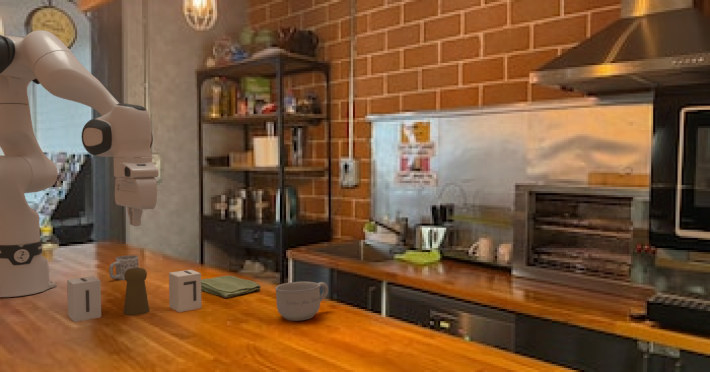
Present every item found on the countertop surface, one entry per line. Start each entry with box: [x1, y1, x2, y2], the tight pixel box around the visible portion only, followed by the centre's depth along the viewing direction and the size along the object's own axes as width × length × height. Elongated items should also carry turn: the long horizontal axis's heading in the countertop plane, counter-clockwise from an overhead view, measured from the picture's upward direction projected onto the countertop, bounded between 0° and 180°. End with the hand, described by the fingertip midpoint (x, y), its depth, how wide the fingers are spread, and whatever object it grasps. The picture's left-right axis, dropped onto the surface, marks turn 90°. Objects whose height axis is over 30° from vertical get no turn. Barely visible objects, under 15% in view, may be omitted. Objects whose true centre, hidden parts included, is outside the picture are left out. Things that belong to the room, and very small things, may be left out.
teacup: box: [274, 281, 329, 322], centre depth 132 cm, size 14×11×8 cm
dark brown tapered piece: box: [123, 267, 150, 316], centre depth 136 cm, size 6×6×11 cm
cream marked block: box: [168, 269, 202, 313], centre depth 140 cm, size 6×6×9 cm
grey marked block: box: [66, 275, 102, 323], centre depth 132 cm, size 6×6×9 cm
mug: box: [108, 254, 139, 281], centre depth 172 cm, size 10×7×7 cm, turn 154°
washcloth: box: [201, 274, 262, 299], centre depth 159 cm, size 13×18×3 cm
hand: (135, 225), depth 135 cm, fingers closed
